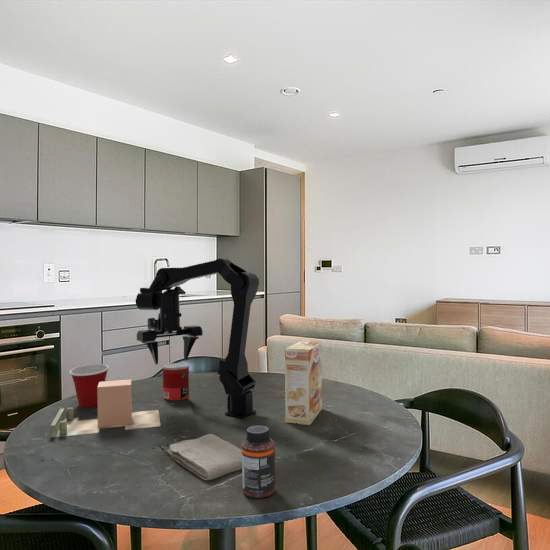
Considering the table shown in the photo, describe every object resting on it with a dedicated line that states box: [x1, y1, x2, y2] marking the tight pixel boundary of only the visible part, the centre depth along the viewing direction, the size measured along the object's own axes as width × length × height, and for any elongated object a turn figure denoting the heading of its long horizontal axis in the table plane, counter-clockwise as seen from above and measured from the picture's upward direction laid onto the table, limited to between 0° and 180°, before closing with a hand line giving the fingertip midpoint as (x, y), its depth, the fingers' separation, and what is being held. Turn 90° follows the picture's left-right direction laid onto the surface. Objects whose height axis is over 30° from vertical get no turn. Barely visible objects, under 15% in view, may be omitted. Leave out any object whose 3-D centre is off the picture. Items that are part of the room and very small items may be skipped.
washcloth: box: [167, 433, 242, 481], centre depth 95 cm, size 12×18×3 cm, turn 41°
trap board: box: [50, 407, 161, 439], centre depth 115 cm, size 25×14×4 cm, turn 107°
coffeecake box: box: [284, 340, 323, 426], centre depth 123 cm, size 15×7×20 cm, turn 161°
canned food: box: [162, 362, 190, 401], centre depth 139 cm, size 8×8×11 cm
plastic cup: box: [69, 363, 110, 408], centre depth 132 cm, size 11×11×12 cm
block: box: [97, 379, 133, 427], centre depth 116 cm, size 8×6×10 cm
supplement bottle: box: [241, 425, 276, 499], centre depth 81 cm, size 6×6×11 cm
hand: (171, 362), depth 134 cm, fingers open, 9 cm apart
